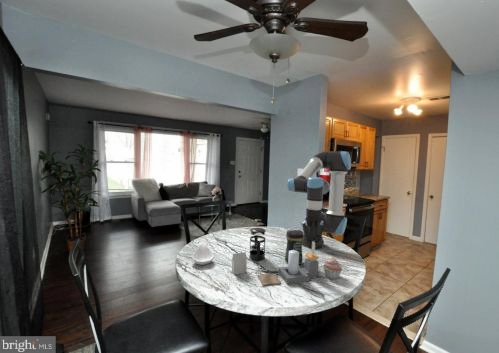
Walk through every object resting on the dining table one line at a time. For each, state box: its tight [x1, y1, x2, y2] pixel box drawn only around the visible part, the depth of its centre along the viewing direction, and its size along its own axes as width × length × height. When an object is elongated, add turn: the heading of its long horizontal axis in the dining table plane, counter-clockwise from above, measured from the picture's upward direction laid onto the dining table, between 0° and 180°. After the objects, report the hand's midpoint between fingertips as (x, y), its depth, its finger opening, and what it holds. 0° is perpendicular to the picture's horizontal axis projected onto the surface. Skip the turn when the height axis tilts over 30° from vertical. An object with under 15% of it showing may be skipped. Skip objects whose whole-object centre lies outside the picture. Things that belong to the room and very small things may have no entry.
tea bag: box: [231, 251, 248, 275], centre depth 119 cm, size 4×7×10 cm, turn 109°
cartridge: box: [287, 250, 300, 275], centre depth 115 cm, size 5×5×13 cm
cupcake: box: [322, 256, 343, 280], centre depth 117 cm, size 9×9×10 cm
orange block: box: [305, 252, 319, 262], centre depth 117 cm, size 5×5×6 cm
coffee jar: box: [284, 229, 304, 265], centre depth 132 cm, size 10×8×19 cm
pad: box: [257, 273, 282, 287], centre depth 112 cm, size 9×9×1 cm
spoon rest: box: [191, 242, 215, 266], centre depth 135 cm, size 24×12×7 cm, turn 14°
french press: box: [249, 218, 266, 262], centre depth 137 cm, size 12×9×23 cm
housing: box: [278, 257, 320, 285], centre depth 116 cm, size 18×11×8 cm, turn 104°
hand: (311, 254), depth 117 cm, fingers closed
